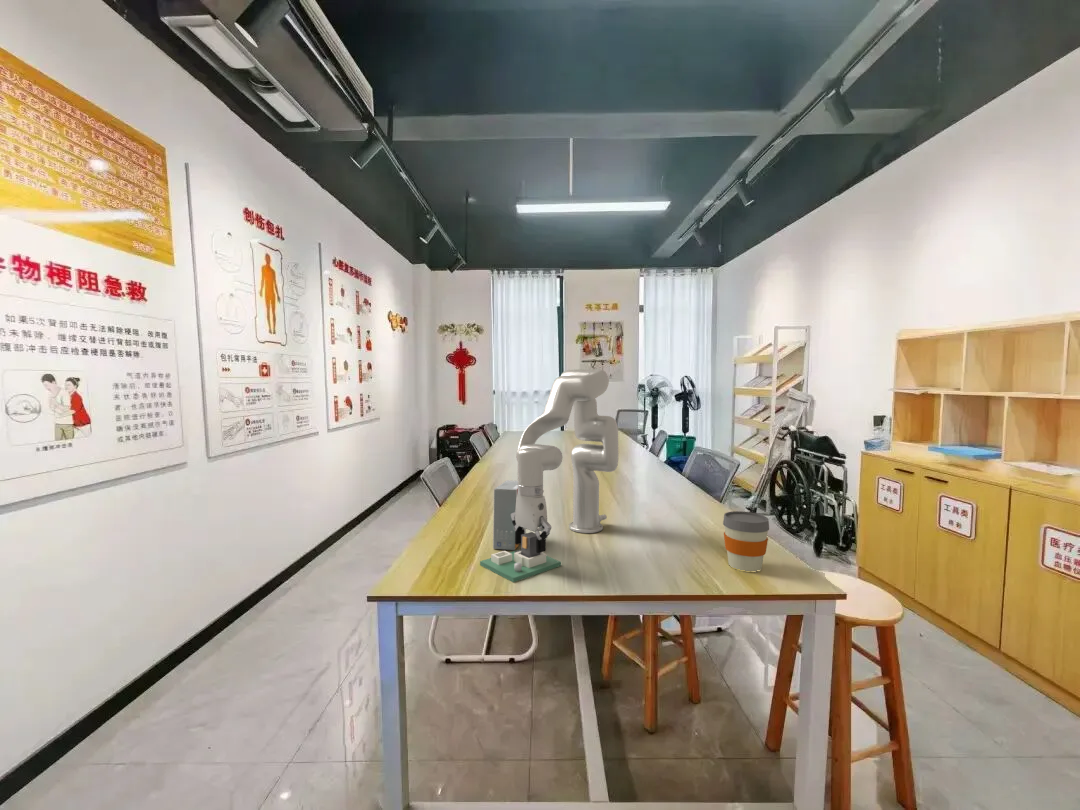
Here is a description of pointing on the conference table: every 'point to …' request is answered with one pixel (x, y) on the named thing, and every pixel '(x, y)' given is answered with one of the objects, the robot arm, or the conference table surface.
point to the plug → (529, 545)
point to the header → (529, 559)
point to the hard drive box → (504, 515)
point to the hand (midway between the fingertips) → (530, 547)
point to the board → (525, 571)
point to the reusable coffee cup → (745, 539)
